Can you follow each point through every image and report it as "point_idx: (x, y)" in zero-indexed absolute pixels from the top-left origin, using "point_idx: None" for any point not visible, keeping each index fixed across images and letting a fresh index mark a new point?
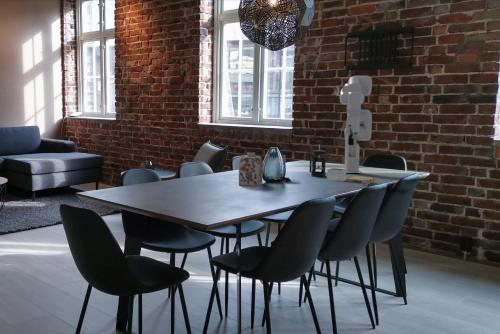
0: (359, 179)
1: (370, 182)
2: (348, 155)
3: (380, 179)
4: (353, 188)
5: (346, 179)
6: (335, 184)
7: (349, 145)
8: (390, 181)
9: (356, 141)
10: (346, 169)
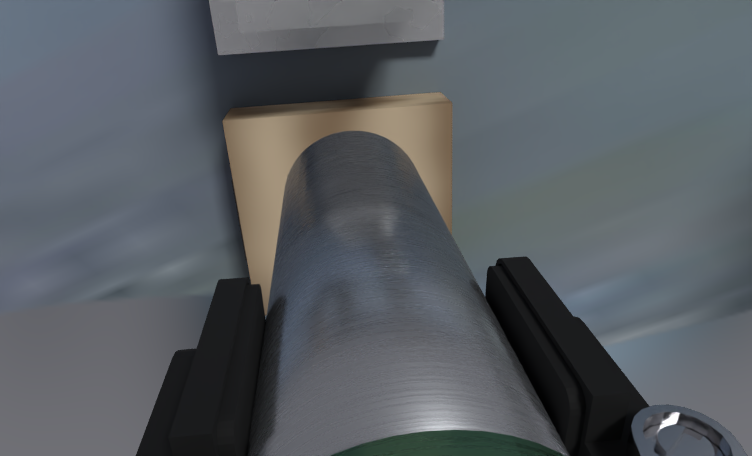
0: (248, 245)
1: None
2: (303, 159)
3: (687, 228)
4: (15, 275)
5: (387, 25)
6: (76, 36)
7: (277, 280)
8: (607, 326)
9: None
10: (425, 19)
